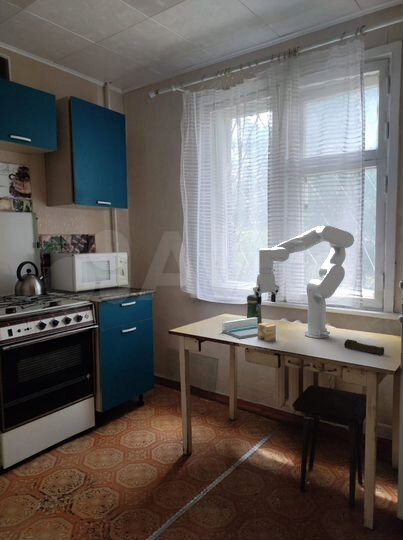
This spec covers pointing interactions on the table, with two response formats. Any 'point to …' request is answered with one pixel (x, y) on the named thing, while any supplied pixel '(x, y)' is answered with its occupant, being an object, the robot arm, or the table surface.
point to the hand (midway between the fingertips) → (266, 302)
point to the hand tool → (363, 347)
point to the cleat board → (241, 328)
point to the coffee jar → (254, 308)
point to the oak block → (267, 331)
